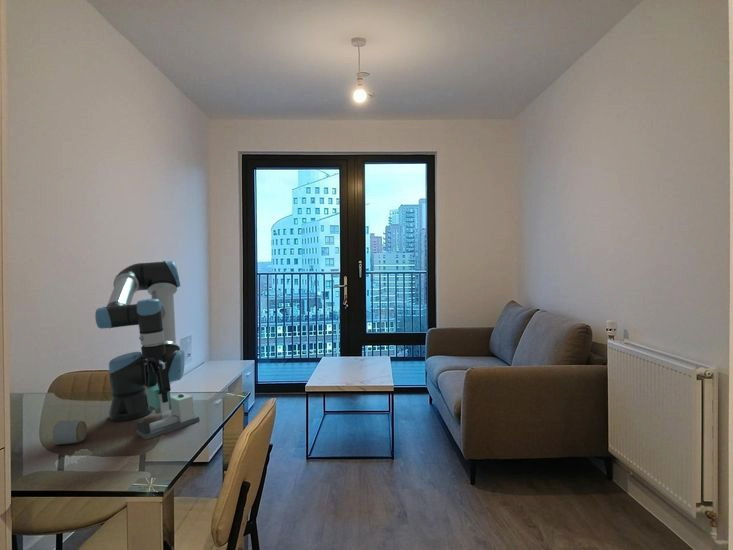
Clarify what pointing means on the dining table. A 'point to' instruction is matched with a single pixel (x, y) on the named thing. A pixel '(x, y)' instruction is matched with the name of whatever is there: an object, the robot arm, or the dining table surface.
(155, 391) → the block
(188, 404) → the board
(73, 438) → the ceramic mug
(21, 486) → the dining table surface
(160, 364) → the robot arm
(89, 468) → the dining table surface
